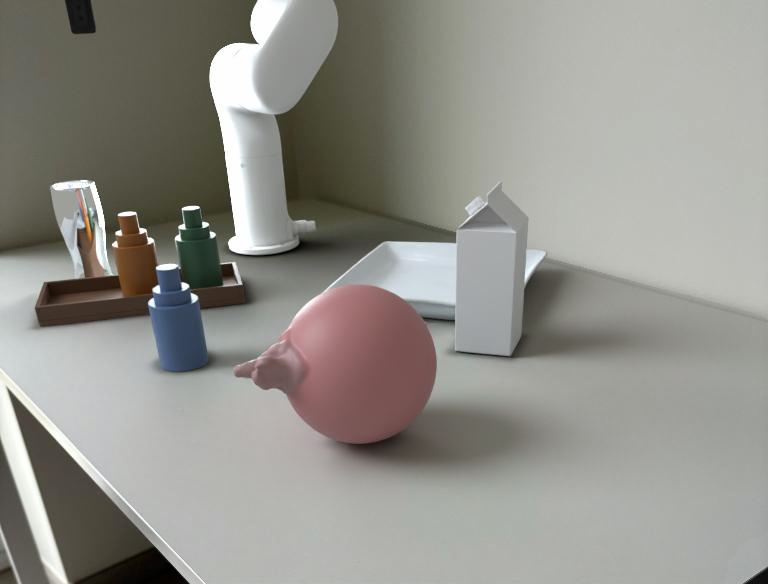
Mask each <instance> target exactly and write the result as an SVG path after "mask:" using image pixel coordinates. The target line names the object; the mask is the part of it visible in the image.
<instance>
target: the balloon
mask: <svg viewBox="0 0 768 584" xmlns="http://www.w3.org/2000/svg"><path fill="white" fill-rule="evenodd" d="M323 292H324V291H323ZM323 292H321V293H319V294H318V295H316V296H314V297H313V298H312V299H311V300H310V301H308V302H307V303H306V304H305V305H304V306H303V307H302V308H301V309H300V310H299V311H298V312H297V314H296V315H295V316H294V317H293V319H292V320H291V322H290V324H289V326H288V327H287V329H286V330H284V332H282V334H281V336H280V338H279V341H278V342H277V343H274V344H273V345H271V346H270V347H269V348H268V349H267V350H265V351H263V352H262V353H261V354H260V355H259V356H258V357H257V358H255V359H252V360H248V361H246V362H244V363H242V364H238V365H235V367H234V368H233V370H232V373H233V375H234V376H235V377H236V378H243V379H251V380H252V382H253V384H254V385H256V386H257V387H259V388H260V389H261V390H264V391H269V390H272V389H274V390H275V389H276V390H279V391H281V392H282V393H283V394H284V395H286V398H287V400H288V402H289V404H290V405H291V407H292V409H293V411H295V413H296V414H297V415H298V417H299V418H300V419H301V420H302V421H303V422H304V423H305V424H306V425H307V426H309V427H310V428H311V429H313V430H314V431H316V432H317V433H318V434H320V435H322V436H324V437H326V438H328V439H330V440H333V441H337V442H341V443H344V444H345V443H346V444H356V445H363V444H365V445H366V444H373V443H377V442H381V441H384V440H387V439H389V438H391V437H393V436H396V435H397V434H399V433H400V432H402V431H403V430H405V429H406V428H407V427H409V426H410V425H411V424H412V423H413V422H414V421H415V420H416V419H417V418H418V417H419V415H420V414H421V413H422V412H423V410H424V409H425V407H426V406H427V404H428V403H429V400H430V398H431V395H432V394H433V390H434V387H435V382H436V377H437V369H438V367H437V366H438V363H437V362H438V361H437V350H436V346H435V343H434V342H435V341H434V339H433V336H432V334H431V333H432V332H431V331H430V329H429V327H428V325H427V323H426V321H425V320H424V319H423V317H421V316H420V315H419V313H418V312H417V311H416V310H415V309H414V308H413V307H412V306H411V305H410V304H409V303H408V302H406V301H405V300H404V299H402V298H401V297H399V296H398V295H396V294H394V293H392V292H390V291H388V290H385V289H383V288H379V287H376V286H371V285H361V284H354V285H345V286H340V287H336V288H333V289H330V290H328V291H326V292H324V293H323Z"/></svg>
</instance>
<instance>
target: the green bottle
mask: <svg viewBox="0 0 768 584" xmlns="http://www.w3.org/2000/svg"><path fill="white" fill-rule="evenodd" d="M181 212H182V219H183V224H180V225H179V226H178V233H179V234H178V235H176V236H175V237H174V242H175V248H176V253H177V258H178V263H179V265H178V266H179V268H180V270H181V276H182V281H183V283H186V284H188V285H189V286H190V289H198V288H207V287H216V286H224V285H223V278H222V271H221V265H220V263H221V258H220V252H219V246H218V239H217V234H216V233H215V232H213V231H211V229H210V224H209V223H208V222H205V221H203V219H202V212H201V207H200V206H198V205H189V206H184V207H182V208H181Z"/></svg>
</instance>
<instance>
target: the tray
mask: <svg viewBox="0 0 768 584" xmlns="http://www.w3.org/2000/svg"><path fill="white" fill-rule="evenodd" d="M220 265H221V271H222V278H223V285H224V286H216V287H207V288H198V289H190V292H191V293H192V294H195V295H197V296H198V299H199V305H200V309H205V308H214V307H223V306H232V305H241V304H246V299H245V291H244V284H243V280H242V278H241V275H240V271H239V268H238V265H237V262H236V261H230V262H220ZM178 268H179V273H180V279H181V283H183V281H182V276H181V270H180V267H178ZM152 298H154V297H153V294H144V295H135V296H126V297H123V294H122V289H121V285H120V280H119V276H118V273H117V274H113V275H106V276H97V277H87V278H78V279H75V278H71V279H70V278H69V279H60V280H49V281H43V284H42V286H41V289H40V292H39V294H38V297H37V300H36V302H35V305H34V311H35V314H36V318H37V322H38V325H39V327H49V326H58V325H67V324H75V323H85V322H92V321H100V320H102V321H103V320H110V319H119V318H127V317H136V316H144V315H150V312H149V307H148V302H149V300H151V299H152Z"/></svg>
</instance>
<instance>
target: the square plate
mask: <svg viewBox="0 0 768 584" xmlns="http://www.w3.org/2000/svg"><path fill="white" fill-rule="evenodd" d="M547 256H548V251H547V250H543V249H534V248H533V249H532V248H527V251H526V267H525V284H524V289H526V287H527V284H528V282H529V280H530V279H531V277H532V276H533V274H534V273H535V271H536V270H537V269H538V268H539V266H541V264H542V263H543V261H544V260H545V259H546V257H547ZM354 284H361V285H371V286H376V287H379V288H383V289H385V290H388V291H390V292H392V293H394V294H396V295H398V296H399V297H401V298H402V299H404V300H405V301H406V302H408V303H409V304H410V305H411V306H412V307H413V308H414V309H415V310H416V311H417V312H418V313H419V315H420V316H421V317H422V318H424V319H425V318H427V319H437V320H447V321H455V308H456V242H431V241H430V242H429V241H423V242H422V241H383V242H381V243H380V244H378V245H377V246H376V247H375V248H374V249H371V251H369V252H368V253H367V254H366V255H364V256H363V257H361V258H360V259H359V261H357V262H356V263H355V264H353V265H352V266H350V268H349V269H347V270H346V271H345V272H344V273H343V274H342V275H340V276H339V277H338V278H337V279H336V280H334V281H333V282H332V283H331V284H330V285H329V286H328V287H327V288H326V289H324V291H322V293H324V292H326V291H328V290H330V289H333V288H336V287H340V286H345V285H354Z"/></svg>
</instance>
